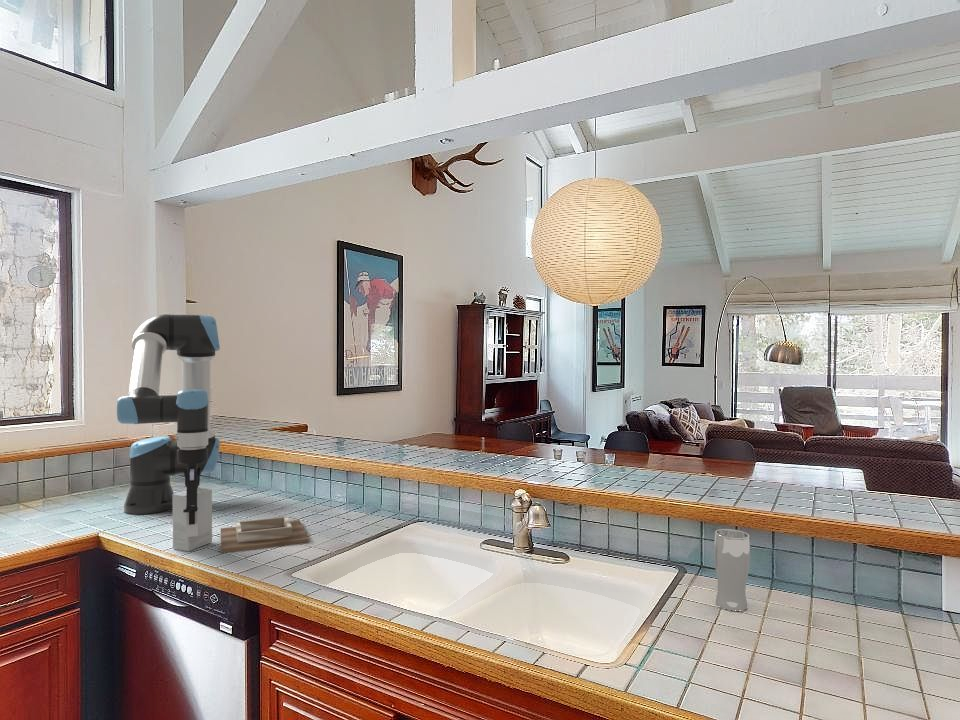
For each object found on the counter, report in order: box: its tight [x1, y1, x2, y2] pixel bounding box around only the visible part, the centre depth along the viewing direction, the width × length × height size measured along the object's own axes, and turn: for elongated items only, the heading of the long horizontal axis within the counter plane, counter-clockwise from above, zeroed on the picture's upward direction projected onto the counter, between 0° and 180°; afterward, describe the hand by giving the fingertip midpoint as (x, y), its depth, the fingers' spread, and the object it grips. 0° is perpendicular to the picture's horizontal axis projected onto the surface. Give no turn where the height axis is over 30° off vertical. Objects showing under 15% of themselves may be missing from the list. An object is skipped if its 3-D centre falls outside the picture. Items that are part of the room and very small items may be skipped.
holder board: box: [220, 515, 310, 554], centre depth 167 cm, size 20×22×4 cm
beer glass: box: [713, 528, 751, 612], centre depth 123 cm, size 7×7×15 cm
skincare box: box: [172, 487, 213, 552], centre depth 159 cm, size 8×6×15 cm
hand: (192, 530), depth 159 cm, fingers closed on skincare box, 10 cm apart
